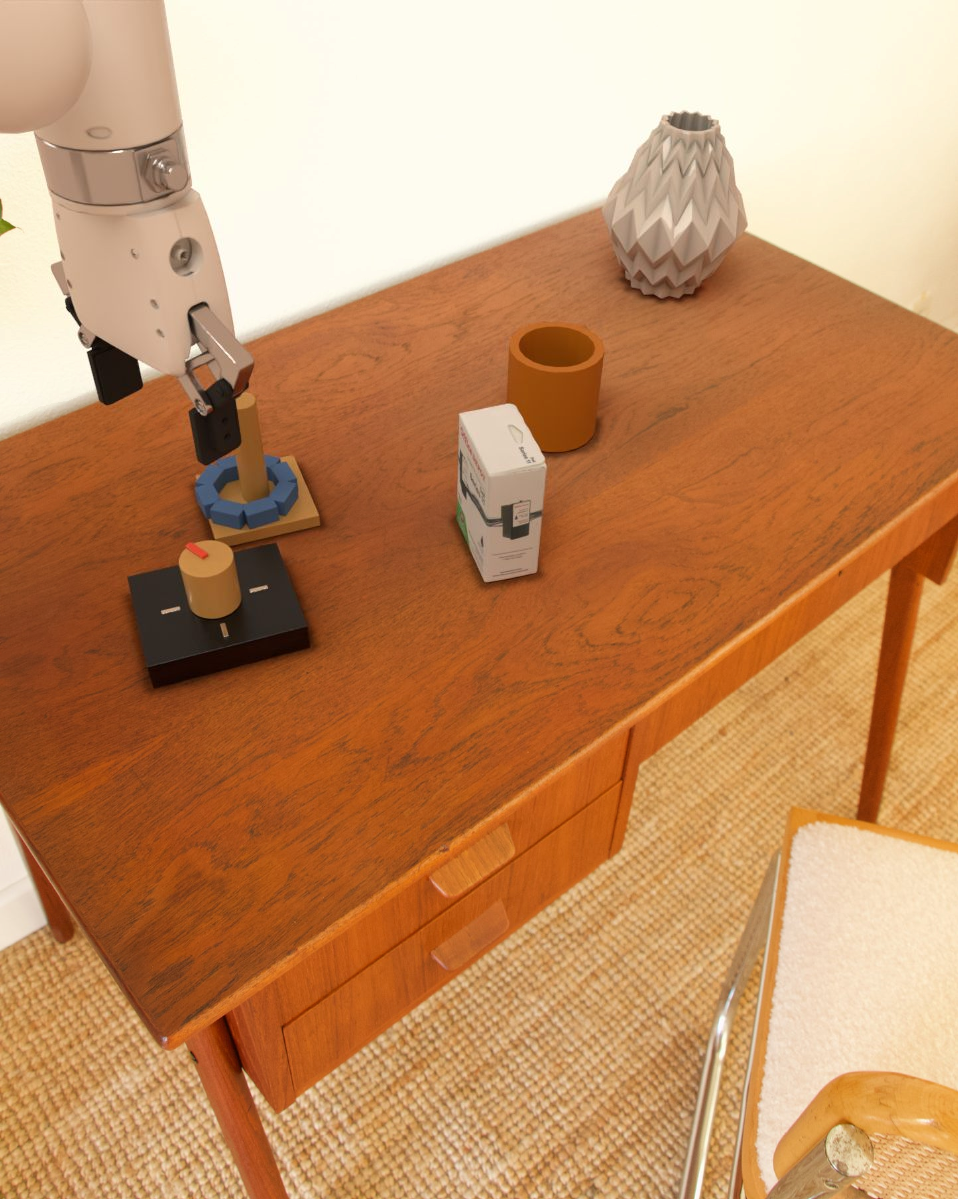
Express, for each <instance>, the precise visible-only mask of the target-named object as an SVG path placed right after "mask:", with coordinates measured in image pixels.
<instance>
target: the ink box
mask: <svg viewBox="0 0 958 1199" xmlns="http://www.w3.org/2000/svg"><path fill="white" fill-rule="evenodd" d="M457 454H458V456H457V457H458V458H457V484H456V485H457V486H456V487H457V490H456V492H457V494H456V495H457V497H456V498H457V499H456V522H457V524H458V526H459V529H460V531H461V533H462V535H463V537H464V540H465V542H466V544H467V547H468V549H469V551H470V553H471V555H472V557H473V560H474V562H475V564H476V566H477V568H478V571H479V573H480V575H481V578H482V579H483V582H484V583H490V582H491V583H492V582H498V581H503V580H507V579H513V578H518V577H522V576H527V575H532V574H536V573H538V567H539V555H540V547H541V546H540V545H541V535H542V534H541V533H542V522H543V511H544V502H545V500H544V499H545V490H546V482H547V472H548V471H547V470H548V466H547V463H546V457H545V456H544V454H543V453H542V451H540V448H539V446H538V444H537V443H536V442H535V440H534V438H533V436H532V434H531V432H530V430H529V428H528V427H527V425H526V424H525V422H524V419H523V417H522V416H521V414H520V413H519V411H518V409H517V407H516V406H515V405H513V404H507V403H505V404H499V405H494V406H489V407H484V408H479V409H474V410H470V411H463V412H460V413H458V453H457Z"/></svg>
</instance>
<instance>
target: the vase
mask: <svg viewBox="0 0 958 1199" xmlns="http://www.w3.org/2000/svg"><path fill="white" fill-rule="evenodd" d="M721 132H722V131H721V125H720V121H719V119H714V118H712V116H711V114H702V113H701V112H699V111H698V110H697V111H693V112H690V111H688V110H685V109H682V110H681V111H680V112H677V111H673V110H672V111H670V113H669V114H662V115H661V118H660V121H659V123H658V125H657V127H655V128H653V129H652V130H651V132H650V134H649V137H648V139H647V140H645V141H644V142H643V143H642V144H641V145H640V146H639V147H637V149H636V151H635V153H634V155H633V158H632V160H631V163H630V165H629V167H628V169H627V171H626V172H625V173H624V174H623V175H622V176H620V178H618V179H617V180H616V181H615V182H614V184H613V187H612V188H611V190H610V191H609V193H608V195H607V198H606V200H605V202H604V204H603V206H602V208H601V215H602V217H603V220H604V223H605V225H606V228H607V231H608V234H609V238H610V242H611V243H610V244H611V247H612V249H613V251H614V254H615V256H616V259H617V262H618V264H619V266H620V268H622V269H623V270H624V274H625V280H627V281H630V288H633V289H638V290H640V291H641V293H642V295H647V296H648V295H654V296H656V297H657V298H659V299H662V300H663V299H664V298H667V297H672V298H675V299H680V298H681V297H682V296H683V295H693V294H694V292H695V289H696V288H698V287H700V286H701V284H702V281H703V280H706V279H709V278H711V277H712V276H713V275H714V274H715V272H716V271H717V269H718V268H719V266H721V264H722V263H723V261H724V260H725V259H726V257H727V255H728V254H729V252H730V251H731V250H732V249H733V247H734V246H735V245H736V243H737V242H738V240H739V239H740V238H741V237H742V235H743V233H744V232H745V231H746V229H747V228H748V225H749V223H748V218H747V213H746V209H745V204H744V200H743V195H742V193H741V191H740V190H739V188H738V186H737V184H736V173H735V165H734V164H735V163H734V158H733V156H732V155H731V153H730V151H729V149H728V148H727V145H726V138H725V136H724V135H723V134H722V133H721Z"/></svg>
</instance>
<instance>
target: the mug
mask: <svg viewBox="0 0 958 1199" xmlns="http://www.w3.org/2000/svg"><path fill="white" fill-rule="evenodd" d="M605 350H606V349H605V345H604V343H603V340H602V339H601V338H600V337H599V335H598V334H596V333H595V332H594V331H591V330H590V329H589V328H588V326H586V325H584V324H580V323H578V324H574V323H571V322H570V323H569V322H564V321H563V322H562V321H542V322H539V323H532V324H529V325H526V326H524V327H522V328H520V329H518V331H516V332H515V333H514V334H513V335H512V336H511V338H510V340H509V343H508V361H507V362H508V364H507V383H506V384H507V385H506V386H507V388H506V404H513V405H515V406H516V407H517V409H518V411H519V413H520V414H521V416H522V417H523V419H524V422H525V424H526V425H527V427H528V428H529V430H530V432H531V434H532V436H533V438H534V440H535V442H536V443H537V444H538V446H539V448H540V451H541V452H546V453H563V452H567V451H572V450H576V449H578V448H580V447H582V446H584V445H586V444H588V442H589V441H590V440H591V439H592V438H593V437H594V434H595V430H596V425H597V415H598V410H599V408H598V407H599V401H600V400H599V399H600V391H601V382H602V375H603V366H604V359H605V358H604V357H605Z"/></svg>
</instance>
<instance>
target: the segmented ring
mask: <svg viewBox="0 0 958 1199" xmlns="http://www.w3.org/2000/svg"><path fill="white" fill-rule="evenodd" d="M264 457H265V464H266V470H267V477H268V480H269V481H273V483H274V485H275V486H276V487H275V488H274V489H273V491H272V492H271V494H270V495H269V497H266V498H263V499H260V500H256V501H253V502H250V503H246V504H241V503H237V502H233V501H228V500H224V499H221V498H220V496H219V493H220V492H221V490H222V489H223V488H224V486H225V485H226V484H227V483H228V482H232V481H235V480H239V474H238V469H237V463H236V457H235V454H233V455H229V456H226V457H224V458H223V457H221V458H220V459H218V460H216V461H215V463H216V464H213V463H211V464H210V465H207V466H206V468H205V469H204V470H203V471H202V473H201V475H200V474H199V475H200V477H199V478H198V479H197V480H196V479H195V482H194V483H195V486H194V488H193V489H194V492H195V497H196V502H197V504H198V505H199V508H200V509H201V511H202V513H203V515H204V517H205V519H206V520H208V519H210V518H212V522H213V523H214V524H218V525H222V526H226V527H231V528H235V529H239V530H241V529H242V528H243V527H244V525H245V524H247V525H248V527H249V529H254V528H257V527H260V526H263V525H266V524H270V523H273V522H276V521H279V520H280V519H279V515H283V516H286V515H287V514H288V512H289V511H290V509H291V508H292V506H293V505H294V503H295V502H296V500H297V499H298V483H297V478H296V476H295V474H294V473H293V471H292V470H291V468H290V467H289V465H288V464H287V462H286V461H285V462H282V463H281V460H280V458H281V457H278V456H275V455H271V454H265V453H264Z"/></svg>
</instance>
